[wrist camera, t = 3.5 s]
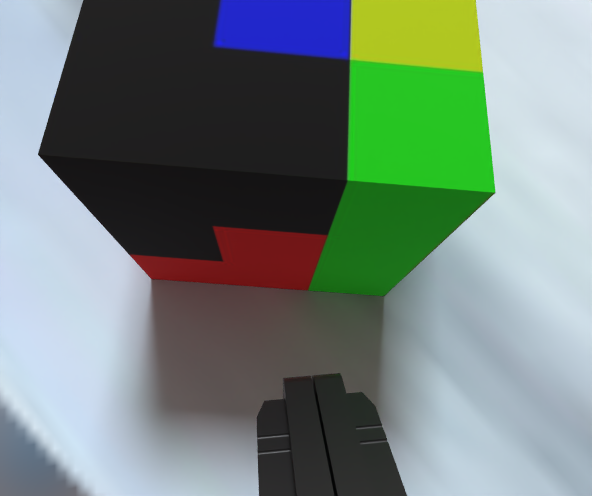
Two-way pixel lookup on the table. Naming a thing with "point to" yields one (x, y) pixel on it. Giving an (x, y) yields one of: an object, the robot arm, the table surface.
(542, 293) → the table surface
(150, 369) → the table surface
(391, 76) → the puzzle toy
